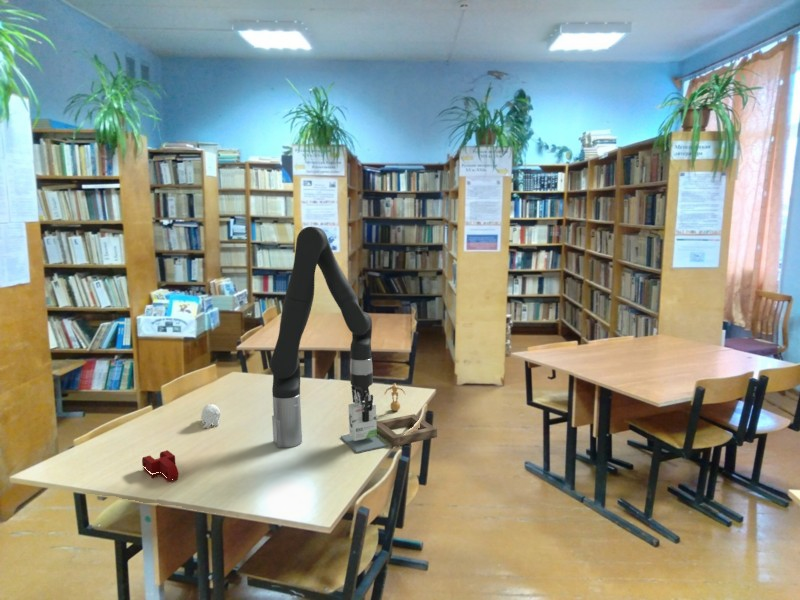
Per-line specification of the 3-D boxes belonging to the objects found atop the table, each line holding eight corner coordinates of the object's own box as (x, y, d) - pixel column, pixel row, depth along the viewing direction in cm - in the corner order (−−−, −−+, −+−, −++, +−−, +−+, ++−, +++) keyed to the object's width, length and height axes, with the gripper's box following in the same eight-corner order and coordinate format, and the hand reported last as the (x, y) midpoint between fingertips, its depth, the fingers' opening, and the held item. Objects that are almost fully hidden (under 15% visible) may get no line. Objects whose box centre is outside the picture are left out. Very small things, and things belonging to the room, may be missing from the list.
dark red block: (142, 470, 168) (141, 455, 168) (166, 463, 173) (164, 448, 173) (162, 487, 157) (161, 471, 156) (186, 479, 162) (185, 463, 161)
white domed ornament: (202, 407, 199) (196, 401, 209) (204, 430, 199) (197, 423, 209) (220, 404, 202) (212, 398, 212) (222, 426, 203) (214, 420, 213)
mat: (356, 453, 178) (356, 451, 178) (340, 437, 191) (340, 435, 191) (386, 446, 183) (386, 445, 183) (369, 431, 196) (369, 430, 196)
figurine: (405, 409, 219) (405, 380, 218) (405, 414, 214) (405, 384, 212) (385, 409, 220) (384, 380, 218) (384, 414, 214) (383, 384, 212)
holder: (393, 446, 183) (393, 438, 182) (373, 429, 198) (373, 422, 197) (437, 437, 190) (437, 429, 190) (414, 421, 205) (414, 414, 205)
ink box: (371, 431, 191) (371, 399, 189) (377, 436, 186) (376, 403, 185) (348, 436, 187) (347, 403, 186) (353, 441, 183) (353, 407, 181)
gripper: (343, 367, 188) (344, 414, 191) (359, 377, 175) (360, 427, 178) (363, 364, 191) (364, 410, 194) (380, 374, 179) (381, 423, 181)
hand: (362, 418), depth 186 cm, fingers closed on ink box, 5 cm apart
